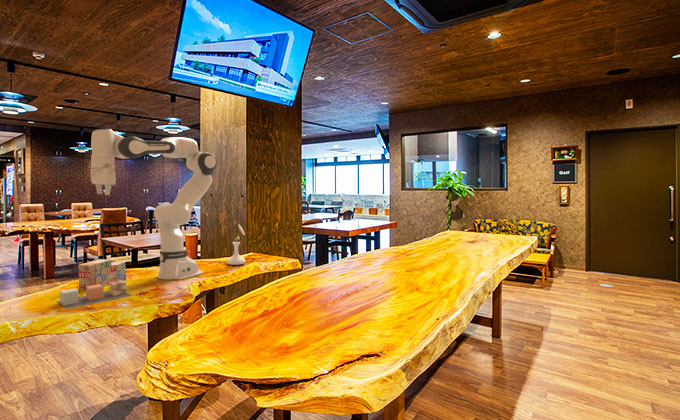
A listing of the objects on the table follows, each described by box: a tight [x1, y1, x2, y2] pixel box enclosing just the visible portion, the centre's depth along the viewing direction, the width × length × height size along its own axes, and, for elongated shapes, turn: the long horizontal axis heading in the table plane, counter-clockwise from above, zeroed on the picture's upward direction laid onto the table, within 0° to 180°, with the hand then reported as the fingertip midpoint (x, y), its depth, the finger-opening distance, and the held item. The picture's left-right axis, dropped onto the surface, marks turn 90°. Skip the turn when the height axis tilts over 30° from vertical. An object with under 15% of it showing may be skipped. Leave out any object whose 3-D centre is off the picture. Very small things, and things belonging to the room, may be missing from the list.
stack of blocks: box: [78, 258, 127, 291], centre depth 176 cm, size 21×6×12 cm, turn 169°
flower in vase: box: [226, 223, 246, 266], centre depth 227 cm, size 13×11×25 cm
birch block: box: [109, 280, 127, 296], centre depth 162 cm, size 5×5×5 cm
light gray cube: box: [59, 288, 80, 306], centre depth 148 cm, size 5×5×5 cm
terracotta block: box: [85, 284, 105, 300], centre depth 155 cm, size 5×5×5 cm
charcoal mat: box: [56, 290, 133, 310], centre depth 155 cm, size 24×14×1 cm, turn 141°
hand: (103, 194), depth 166 cm, fingers open, 8 cm apart
